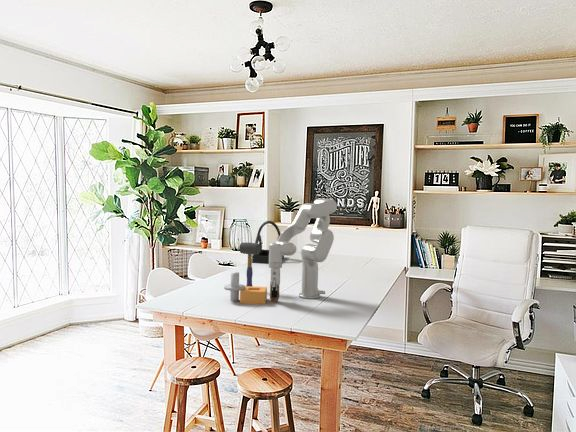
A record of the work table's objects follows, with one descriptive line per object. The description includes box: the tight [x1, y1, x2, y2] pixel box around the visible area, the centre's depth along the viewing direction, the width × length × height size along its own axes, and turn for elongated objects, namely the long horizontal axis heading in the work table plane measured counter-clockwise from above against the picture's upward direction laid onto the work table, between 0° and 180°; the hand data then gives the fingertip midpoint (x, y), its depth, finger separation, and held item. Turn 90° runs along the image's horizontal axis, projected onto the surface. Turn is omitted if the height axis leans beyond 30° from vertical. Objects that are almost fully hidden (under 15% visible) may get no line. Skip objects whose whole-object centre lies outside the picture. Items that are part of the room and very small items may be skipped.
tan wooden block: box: [269, 280, 280, 304], centre depth 264 cm, size 5×4×12 cm
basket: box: [252, 220, 285, 265], centre depth 401 cm, size 35×21×35 cm, turn 168°
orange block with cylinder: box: [223, 271, 268, 305], centre depth 265 cm, size 24×12×16 cm, turn 88°
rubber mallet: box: [238, 242, 261, 287], centre depth 291 cm, size 12×8×30 cm, turn 68°
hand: (274, 296), depth 264 cm, fingers closed on tan wooden block, 4 cm apart
